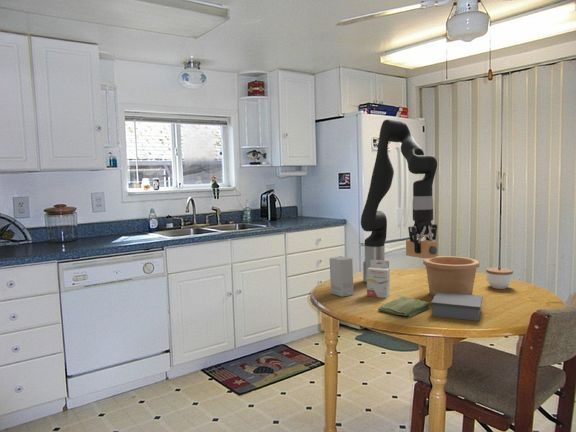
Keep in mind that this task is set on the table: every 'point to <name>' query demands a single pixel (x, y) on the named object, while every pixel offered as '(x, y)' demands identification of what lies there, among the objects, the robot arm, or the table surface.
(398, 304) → the washcloth
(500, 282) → the lidded jar
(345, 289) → the skincare box
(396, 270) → the table surface
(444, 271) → the pottery
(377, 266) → the ink cartridge box
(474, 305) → the stand
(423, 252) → the block
